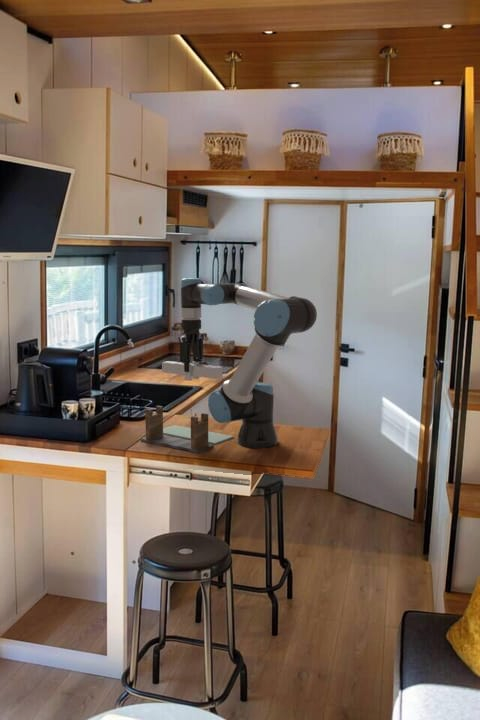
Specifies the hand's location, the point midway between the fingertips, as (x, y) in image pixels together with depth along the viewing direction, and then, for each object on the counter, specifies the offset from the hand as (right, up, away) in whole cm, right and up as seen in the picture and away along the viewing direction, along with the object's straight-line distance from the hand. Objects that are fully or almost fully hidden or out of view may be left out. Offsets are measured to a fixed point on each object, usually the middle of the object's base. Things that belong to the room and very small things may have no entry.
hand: (191, 379), depth 268 cm
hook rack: (-5, -24, -8) cm, 26 cm away
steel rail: (0, +2, 0) cm, 2 cm away
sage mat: (0, -22, +5) cm, 23 cm away
